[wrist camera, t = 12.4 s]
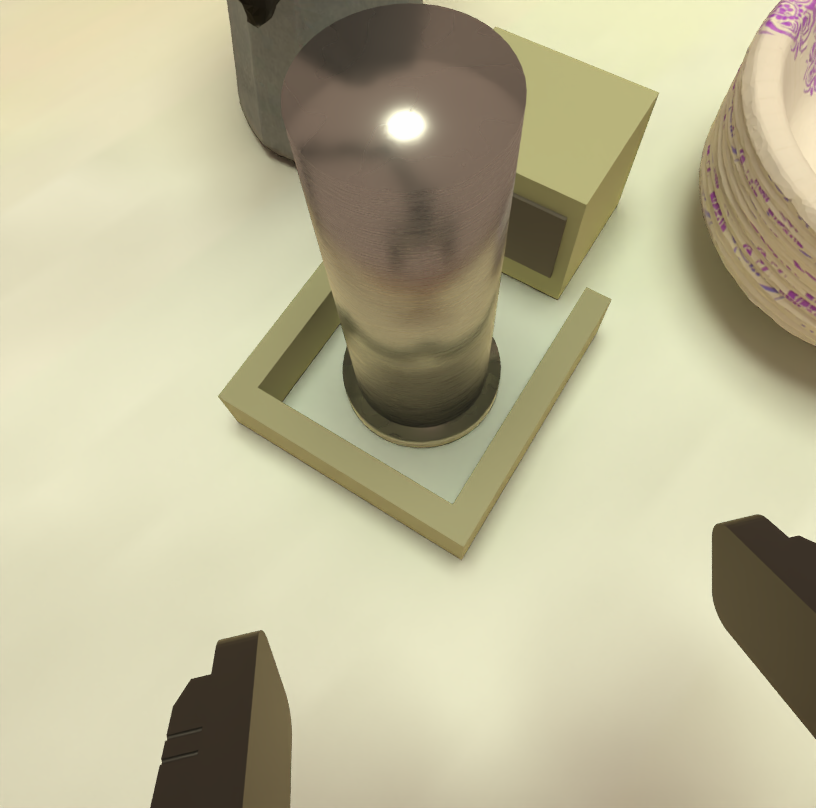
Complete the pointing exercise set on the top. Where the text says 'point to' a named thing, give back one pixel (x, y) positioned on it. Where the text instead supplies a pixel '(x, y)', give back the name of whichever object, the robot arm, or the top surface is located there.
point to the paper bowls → (769, 170)
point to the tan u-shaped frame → (523, 260)
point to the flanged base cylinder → (411, 206)
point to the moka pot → (278, 53)
